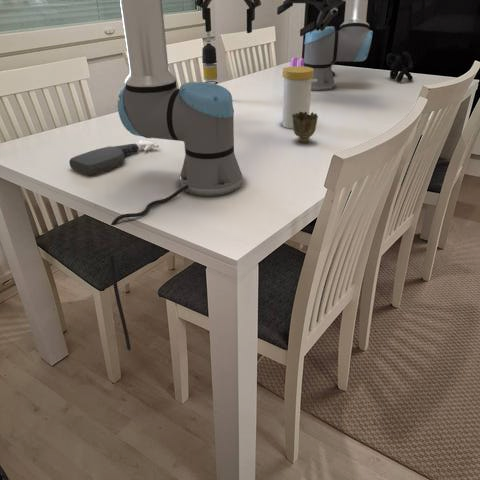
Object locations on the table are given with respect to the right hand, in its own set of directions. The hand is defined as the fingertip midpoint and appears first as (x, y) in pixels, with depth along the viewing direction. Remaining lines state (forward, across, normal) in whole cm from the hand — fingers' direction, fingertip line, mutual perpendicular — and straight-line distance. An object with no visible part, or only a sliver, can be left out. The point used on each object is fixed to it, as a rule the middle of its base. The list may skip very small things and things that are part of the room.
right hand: (289, 22), depth 164 cm
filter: (+35, -4, -20) cm, 41 cm away
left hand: (+1, -28, -24) cm, 37 cm away
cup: (-12, -6, -57) cm, 58 cm away
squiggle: (-13, +64, +7) cm, 66 cm away
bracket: (+28, +45, +20) cm, 57 cm away
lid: (-12, -9, -33) cm, 36 cm away
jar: (-4, +1, -44) cm, 44 cm away
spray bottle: (+21, -48, -70) cm, 87 cm away
